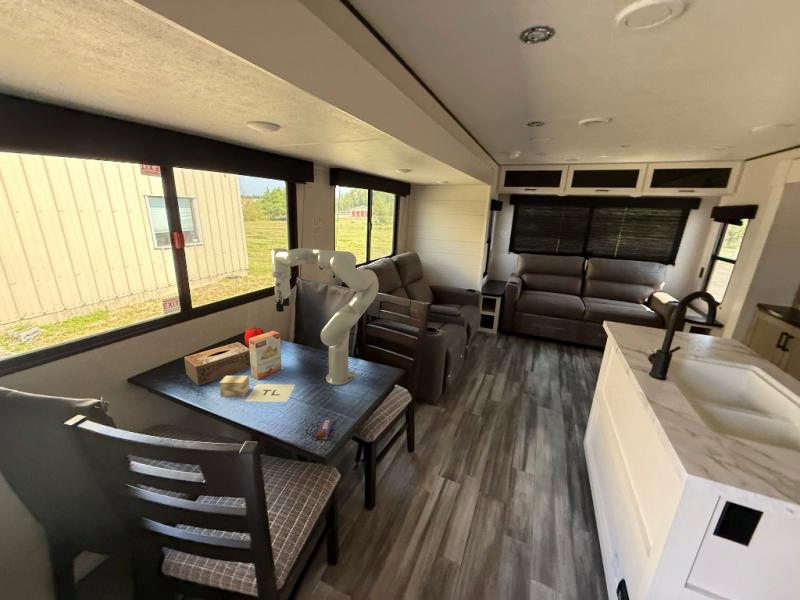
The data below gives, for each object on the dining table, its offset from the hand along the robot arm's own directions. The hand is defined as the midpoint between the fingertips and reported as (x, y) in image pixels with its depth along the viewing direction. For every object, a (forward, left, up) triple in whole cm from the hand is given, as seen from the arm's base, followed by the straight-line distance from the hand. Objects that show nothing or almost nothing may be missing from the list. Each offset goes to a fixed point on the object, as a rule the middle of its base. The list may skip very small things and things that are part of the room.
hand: (283, 308), depth 151 cm
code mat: (+1, +21, -34) cm, 40 cm away
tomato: (+26, -27, -34) cm, 51 cm away
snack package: (-28, +46, -35) cm, 64 cm away
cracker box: (+9, +3, -34) cm, 36 cm away
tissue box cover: (+33, +1, -35) cm, 48 cm away
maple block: (+17, +21, -34) cm, 44 cm away
